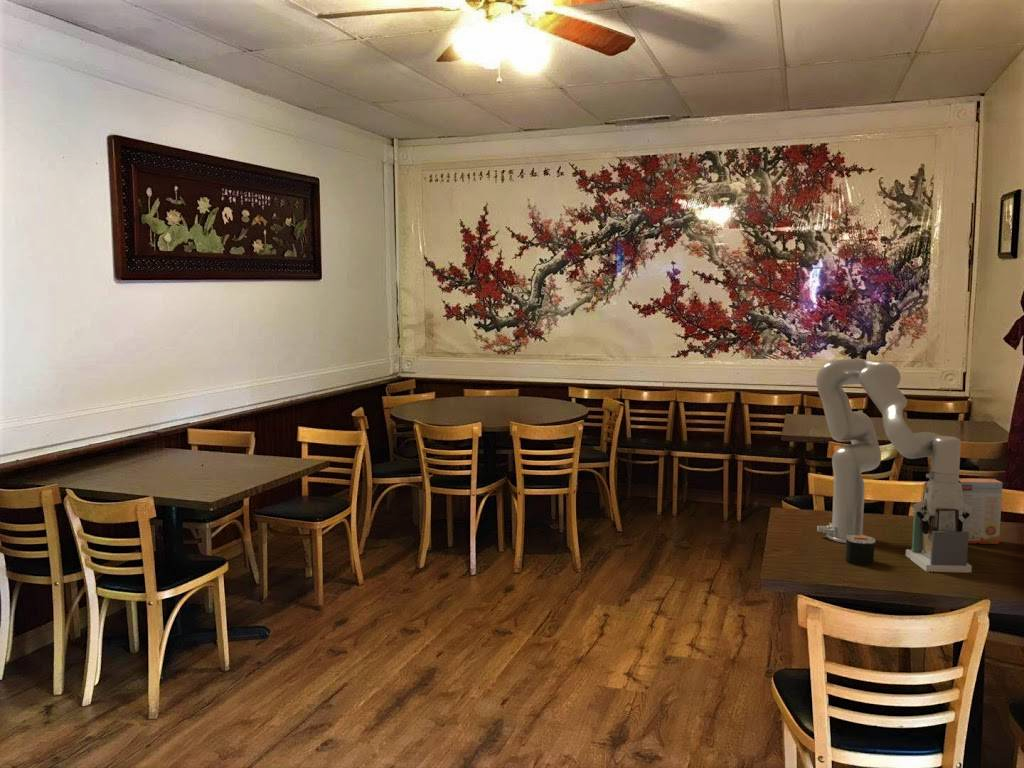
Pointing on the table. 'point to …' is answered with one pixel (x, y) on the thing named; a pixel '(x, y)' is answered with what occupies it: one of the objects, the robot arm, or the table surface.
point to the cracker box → (982, 509)
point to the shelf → (940, 550)
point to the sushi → (860, 550)
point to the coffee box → (939, 527)
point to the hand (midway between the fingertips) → (940, 533)
